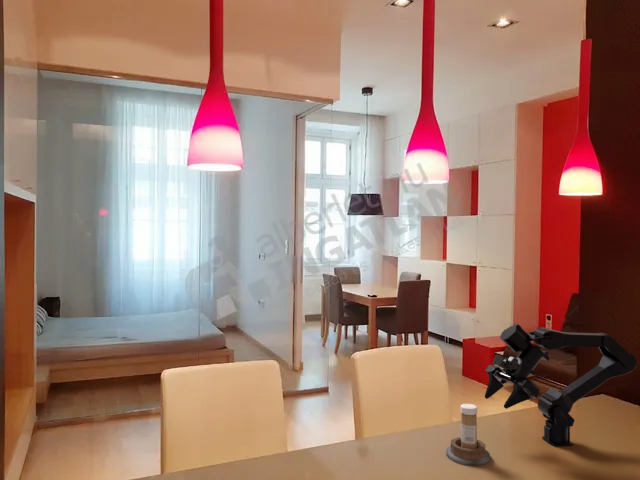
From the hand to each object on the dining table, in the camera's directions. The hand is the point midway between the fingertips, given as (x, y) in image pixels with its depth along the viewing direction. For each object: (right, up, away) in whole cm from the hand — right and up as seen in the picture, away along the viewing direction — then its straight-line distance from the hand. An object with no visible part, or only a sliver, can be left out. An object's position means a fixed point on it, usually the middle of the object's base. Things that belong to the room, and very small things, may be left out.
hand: (494, 402), depth 152 cm
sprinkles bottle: (-9, -13, -6) cm, 17 cm away
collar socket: (-10, -13, -6) cm, 17 cm away
